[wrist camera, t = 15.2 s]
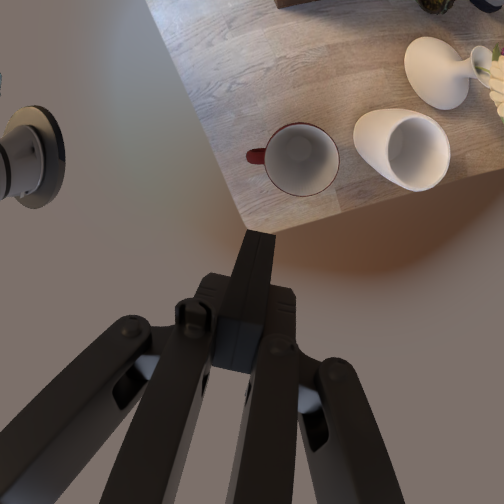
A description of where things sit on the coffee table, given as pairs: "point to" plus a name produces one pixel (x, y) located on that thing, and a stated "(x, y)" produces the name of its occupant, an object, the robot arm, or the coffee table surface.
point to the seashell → (435, 5)
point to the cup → (403, 147)
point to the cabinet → (290, 2)
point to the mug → (299, 159)
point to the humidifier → (488, 5)
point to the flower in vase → (452, 73)
